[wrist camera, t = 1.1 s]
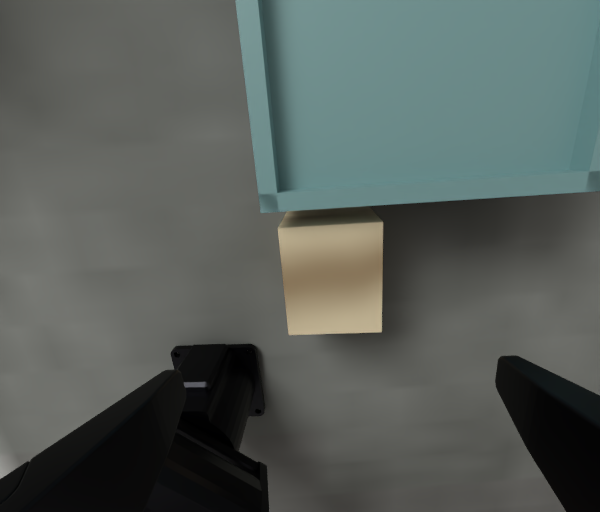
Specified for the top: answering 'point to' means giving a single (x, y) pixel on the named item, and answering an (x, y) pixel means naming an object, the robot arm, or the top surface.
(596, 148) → the teal toy wagon
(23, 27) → the top surface
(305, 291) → the block
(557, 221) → the top surface
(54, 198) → the top surface
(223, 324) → the top surface
